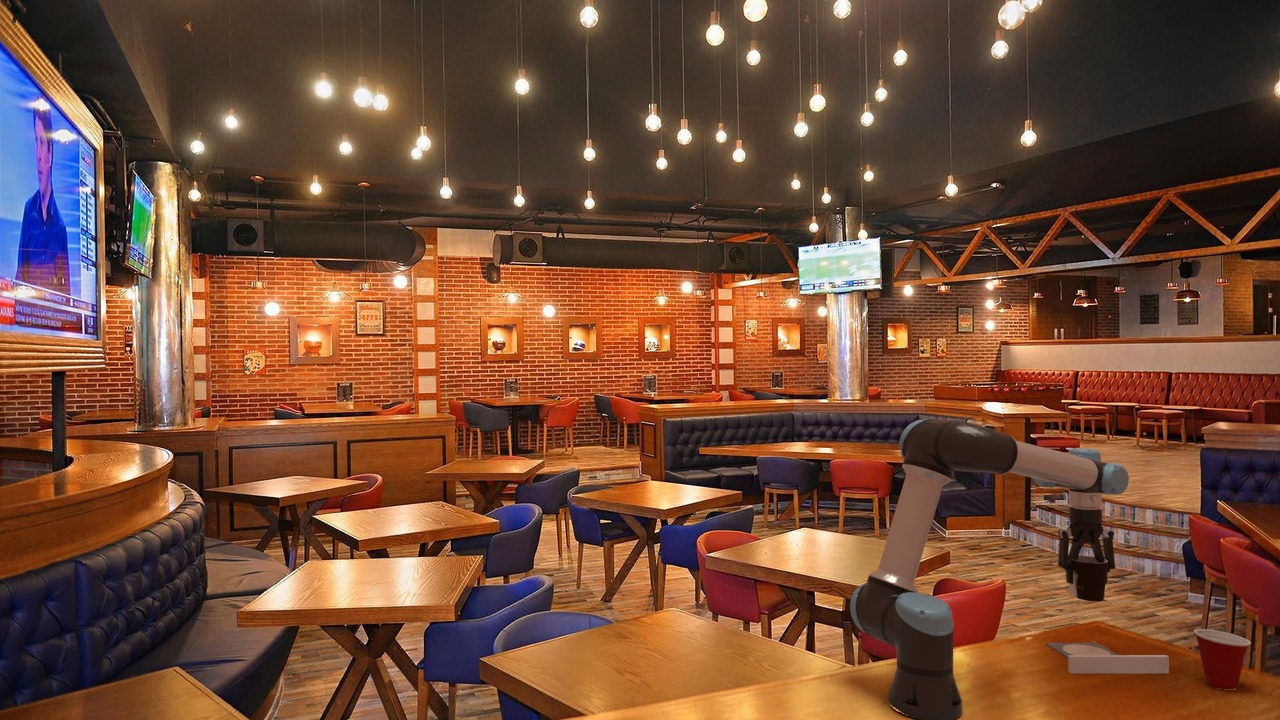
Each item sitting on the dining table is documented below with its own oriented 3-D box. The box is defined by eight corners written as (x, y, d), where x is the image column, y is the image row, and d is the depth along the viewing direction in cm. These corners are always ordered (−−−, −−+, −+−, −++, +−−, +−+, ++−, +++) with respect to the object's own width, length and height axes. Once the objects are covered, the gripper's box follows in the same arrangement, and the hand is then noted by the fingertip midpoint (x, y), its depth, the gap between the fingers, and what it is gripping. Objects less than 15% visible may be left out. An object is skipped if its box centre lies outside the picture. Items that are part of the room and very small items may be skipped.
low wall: (1071, 673, 194) (1070, 656, 195) (1068, 671, 196) (1068, 655, 196) (1169, 673, 195) (1168, 656, 195) (1165, 671, 196) (1165, 655, 196)
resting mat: (1074, 662, 202) (1074, 660, 202) (1046, 644, 216) (1046, 642, 216) (1129, 662, 202) (1129, 660, 202) (1097, 644, 216) (1097, 642, 216)
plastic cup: (1262, 697, 180) (1261, 643, 180) (1208, 693, 182) (1207, 640, 182) (1236, 679, 190) (1235, 629, 191) (1186, 676, 193) (1185, 626, 193)
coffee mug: (1108, 604, 202) (1107, 564, 202) (1069, 599, 206) (1068, 560, 207) (1109, 593, 212) (1108, 556, 212) (1072, 589, 216) (1072, 552, 217)
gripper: (1056, 509, 206) (1057, 599, 205) (1131, 509, 206) (1132, 599, 205) (1041, 505, 213) (1042, 592, 213) (1113, 505, 213) (1115, 592, 213)
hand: (1086, 595), depth 209 cm, fingers closed on coffee mug, 6 cm apart
